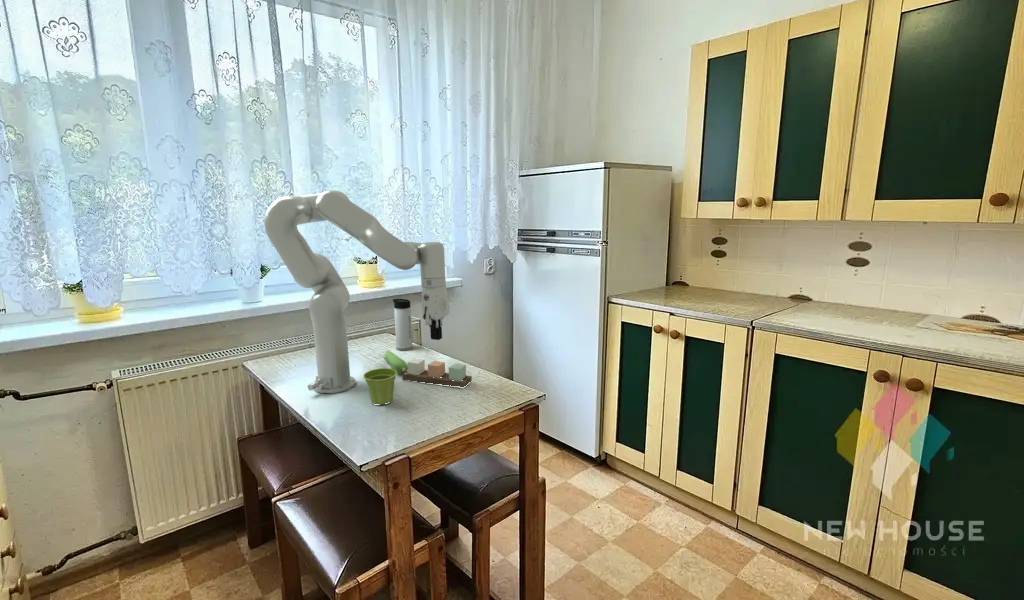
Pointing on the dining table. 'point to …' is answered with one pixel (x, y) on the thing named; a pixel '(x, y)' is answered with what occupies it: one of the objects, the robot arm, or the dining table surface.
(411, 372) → the ivory block
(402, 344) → the travel mug
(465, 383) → the button board
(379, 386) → the plant pot
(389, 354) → the edible corn
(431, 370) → the terracotta block
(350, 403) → the dining table surface
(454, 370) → the sage block
